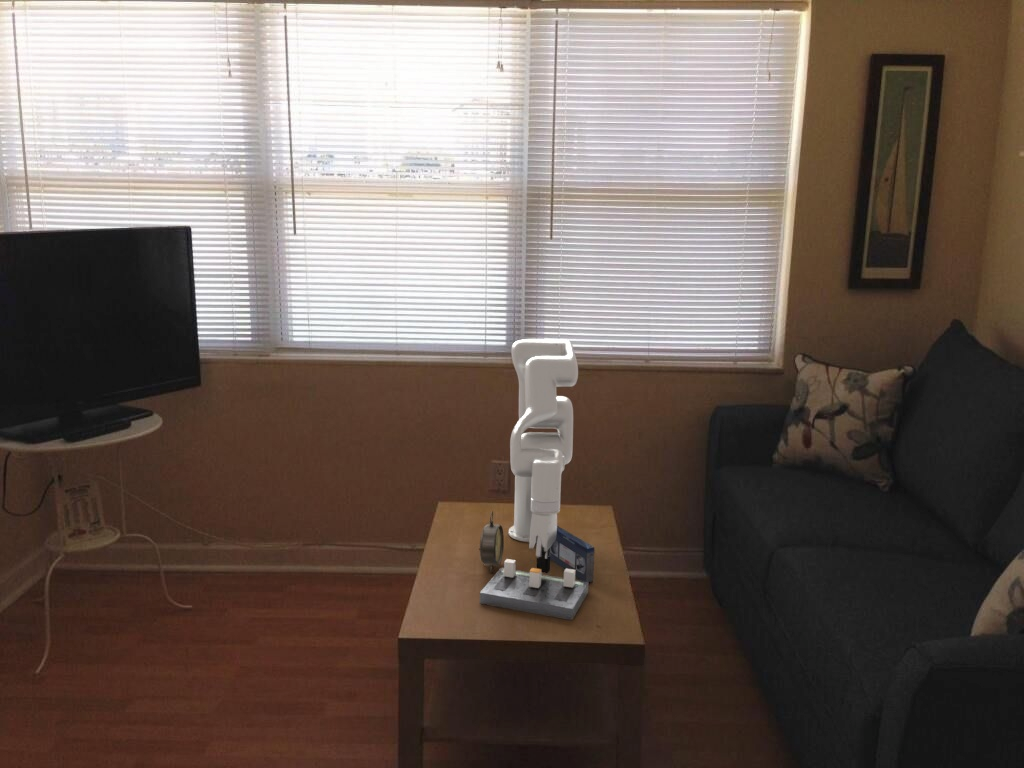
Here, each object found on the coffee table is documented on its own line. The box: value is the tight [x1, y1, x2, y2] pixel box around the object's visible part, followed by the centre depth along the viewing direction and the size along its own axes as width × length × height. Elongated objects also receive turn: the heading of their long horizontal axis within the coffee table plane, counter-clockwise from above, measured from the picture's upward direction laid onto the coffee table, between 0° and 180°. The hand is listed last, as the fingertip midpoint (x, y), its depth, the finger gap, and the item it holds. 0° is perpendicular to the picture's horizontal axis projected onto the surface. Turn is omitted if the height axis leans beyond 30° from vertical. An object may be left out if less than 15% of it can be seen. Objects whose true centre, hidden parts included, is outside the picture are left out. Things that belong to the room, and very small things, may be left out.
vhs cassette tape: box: [548, 525, 595, 583], centre depth 248 cm, size 18×3×10 cm, turn 29°
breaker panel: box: [479, 567, 589, 621], centre depth 232 cm, size 16×24×3 cm, turn 71°
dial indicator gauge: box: [478, 510, 505, 574], centre depth 248 cm, size 11×5×16 cm, turn 168°
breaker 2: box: [563, 568, 576, 588], centre depth 232 cm, size 2×2×4 cm
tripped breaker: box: [529, 567, 542, 588], centre depth 231 cm, size 2×2×4 cm
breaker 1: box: [503, 558, 517, 578], centre depth 237 cm, size 2×2×4 cm
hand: (543, 571), depth 237 cm, fingers closed
